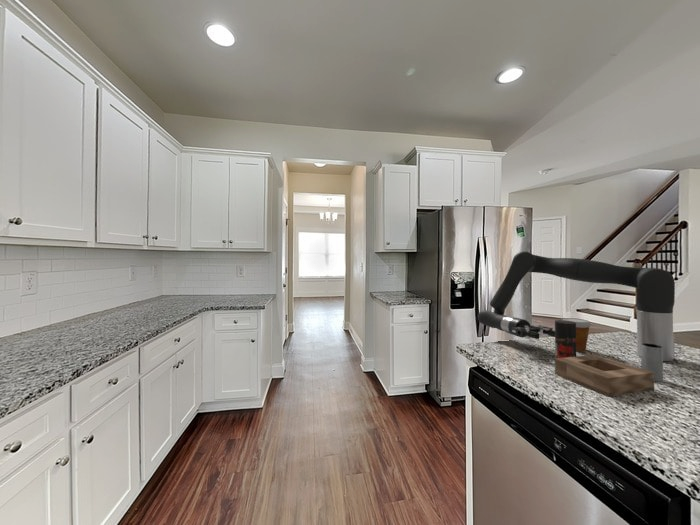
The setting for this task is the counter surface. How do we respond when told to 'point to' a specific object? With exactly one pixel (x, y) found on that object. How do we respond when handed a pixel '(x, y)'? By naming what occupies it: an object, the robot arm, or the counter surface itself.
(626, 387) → the socket block
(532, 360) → the counter surface
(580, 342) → the disposable coffee cup
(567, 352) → the deodorant
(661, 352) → the gray cylindrical tube
